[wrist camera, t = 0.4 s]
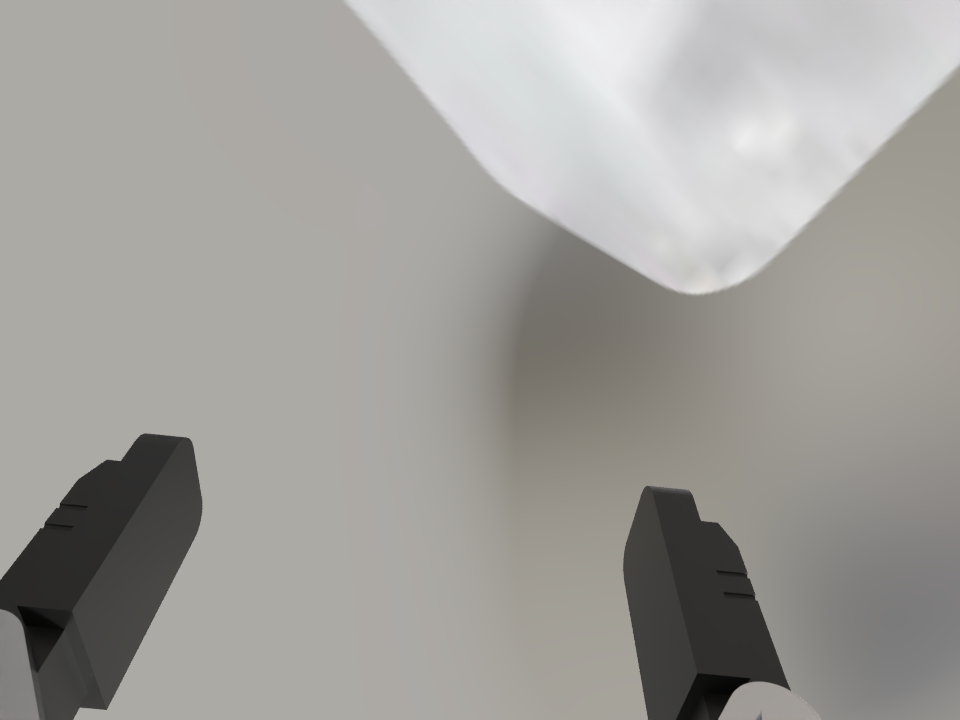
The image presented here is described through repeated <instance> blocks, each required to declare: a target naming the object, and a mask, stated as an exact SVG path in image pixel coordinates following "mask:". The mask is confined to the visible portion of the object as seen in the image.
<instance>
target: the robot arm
mask: <svg viewBox="0 0 960 720" xmlns="http://www.w3.org/2000/svg"><path fill="white" fill-rule="evenodd" d="M201 516H202V496H201V491H200V484H199V478H198V473H197V466H196V460H195V454H194V448H193V444H192V442H191V440H190V439H189V438H186V437H175V436H166V435H156V434H142V435H140V437H138V439H137V440H136V441H135V442H134V444H133V445H132V446H131V448H130V449H129V451H128V452H127V453H126V455H125V456H124V457H123V459H122V460H121V461H113V460H106V461H104V462H103V463H101V464H100V465H99V466H97V467H96V468H94V469H93V470H91V471H90V472H88V473H87V474H86V475H84V476H83V477H81V478H80V479H79V480H78V481H77V482H76V483H75V484H74V486H73V487H72V488H71V490H70V491H69V492H68V494H67V495H66V496H65V497H64V499H63V500H62V501H61V503H60V507H59V508H56V509H55V510H54V512H53V513H52V514H51V516H50V517H49V518H48V519H47V521H46V522H45V526H44V528H43V529H42V528H40V530H39V531H38V532H37V534H36V535H35V536H34V537H33V539H32V540H31V541H30V543H29V544H28V545H27V547H26V548H25V549H24V550H23V552H22V553H21V554H20V556H19V557H18V558H17V560H16V561H15V562H14V563H13V565H12V566H11V567H10V569H9V570H8V571H7V573H6V574H5V575H4V576H3V578H2V579H1V580H0V720H73V719H74V717H75V715H76V713H77V711H78V709H79V708H80V707H82V708H93V709H103V710H107V708H108V706H109V704H110V702H111V700H112V698H113V697H114V694H115V693H116V691H117V689H118V687H119V685H120V683H121V681H122V679H123V677H124V675H125V673H126V671H127V669H128V667H129V665H130V663H131V661H132V659H133V657H134V656H135V654H136V651H137V649H138V648H139V646H140V644H141V642H142V640H143V637H144V636H145V634H146V632H147V630H148V628H149V626H150V624H151V622H152V620H153V618H154V616H155V614H156V613H157V611H158V609H159V607H160V605H161V603H162V601H163V599H164V597H165V595H166V593H167V591H168V589H169V587H170V585H171V583H172V581H173V579H174V577H175V575H176V573H177V572H178V570H179V568H180V566H181V564H182V562H183V560H184V558H185V556H186V554H187V552H188V550H189V548H190V546H191V544H192V542H193V540H194V538H195V536H196V534H197V531H198V528H199V525H200V521H201ZM623 571H624V582H625V587H626V593H627V599H628V605H629V611H630V616H631V622H632V628H633V634H634V640H635V645H636V651H637V657H638V663H639V669H640V675H641V680H642V686H643V692H644V698H645V704H646V709H647V715H648V720H821V718H820V716H819V715H818V714H817V713H816V712H815V710H814V709H813V708H812V707H811V706H810V705H809V704H808V703H807V702H806V701H804V700H803V699H802V698H800V697H799V696H798V695H796V694H795V693H793V692H792V691H791V690H790V687H789V685H788V683H787V680H786V678H785V675H784V672H783V669H782V667H781V664H780V661H779V658H778V656H777V653H776V650H775V647H774V645H773V642H772V639H771V637H770V634H769V631H768V628H767V626H766V623H765V620H764V617H763V615H762V612H761V609H760V606H759V604H758V601H756V600H755V592H754V590H753V587H752V584H751V581H750V579H748V578H747V570H746V568H745V565H744V562H743V559H742V557H741V554H740V551H739V549H738V547H737V545H736V544H735V543H734V542H733V540H732V539H731V538H730V537H729V536H728V535H727V533H726V532H725V531H724V530H723V528H722V527H721V526H720V525H719V524H718V523H713V522H704V521H701V520H700V517H699V514H698V511H697V508H696V504H695V501H694V498H693V495H692V494H691V492H690V491H689V490H683V489H673V488H662V487H653V486H646V487H645V488H644V490H643V492H642V494H641V498H640V501H639V504H638V507H637V510H636V513H635V517H634V520H633V523H632V526H631V530H630V533H629V536H628V539H627V542H626V546H625V552H624V564H623Z"/></svg>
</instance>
